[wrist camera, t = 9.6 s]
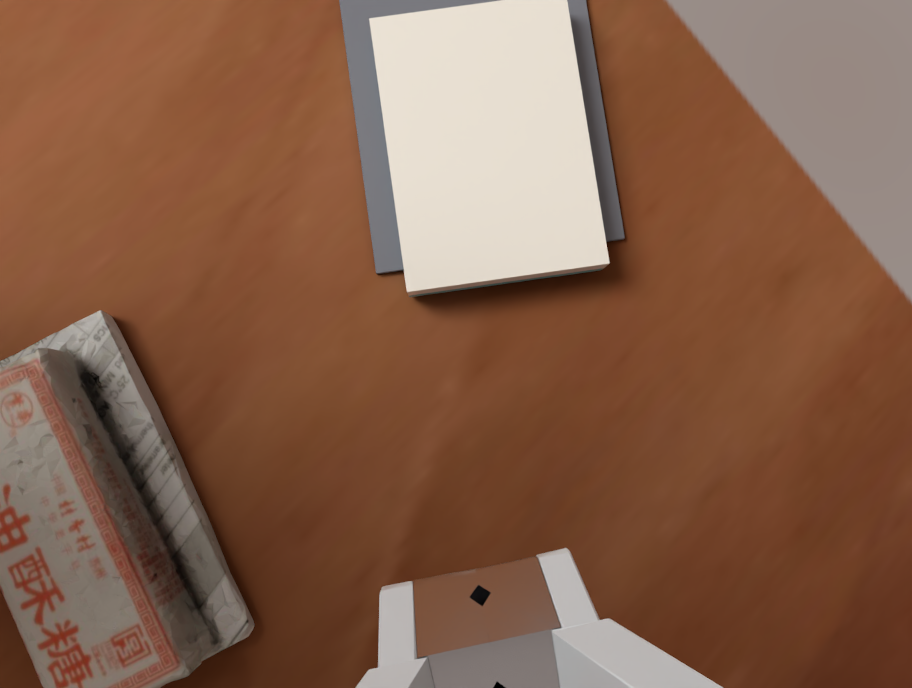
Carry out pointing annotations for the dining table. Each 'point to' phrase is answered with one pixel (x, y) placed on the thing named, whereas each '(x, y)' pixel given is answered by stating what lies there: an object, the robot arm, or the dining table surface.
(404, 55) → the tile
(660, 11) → the dining table surface
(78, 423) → the packaged product
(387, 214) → the mat
